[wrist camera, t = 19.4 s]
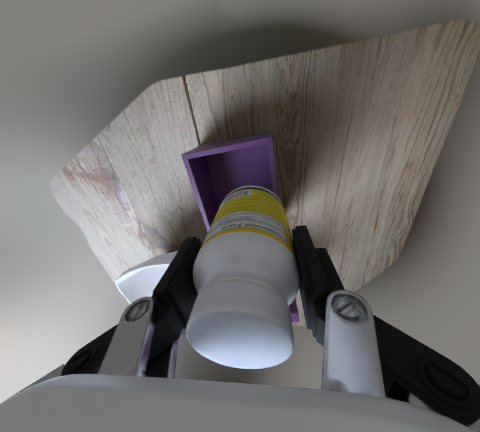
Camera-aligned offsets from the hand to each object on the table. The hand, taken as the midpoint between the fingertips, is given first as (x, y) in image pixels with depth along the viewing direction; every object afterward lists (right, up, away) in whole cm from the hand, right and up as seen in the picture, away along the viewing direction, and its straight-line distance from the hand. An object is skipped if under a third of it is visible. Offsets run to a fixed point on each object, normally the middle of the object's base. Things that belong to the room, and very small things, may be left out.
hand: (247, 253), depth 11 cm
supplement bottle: (+1, +2, +4) cm, 5 cm away
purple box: (0, +9, +26) cm, 28 cm away
